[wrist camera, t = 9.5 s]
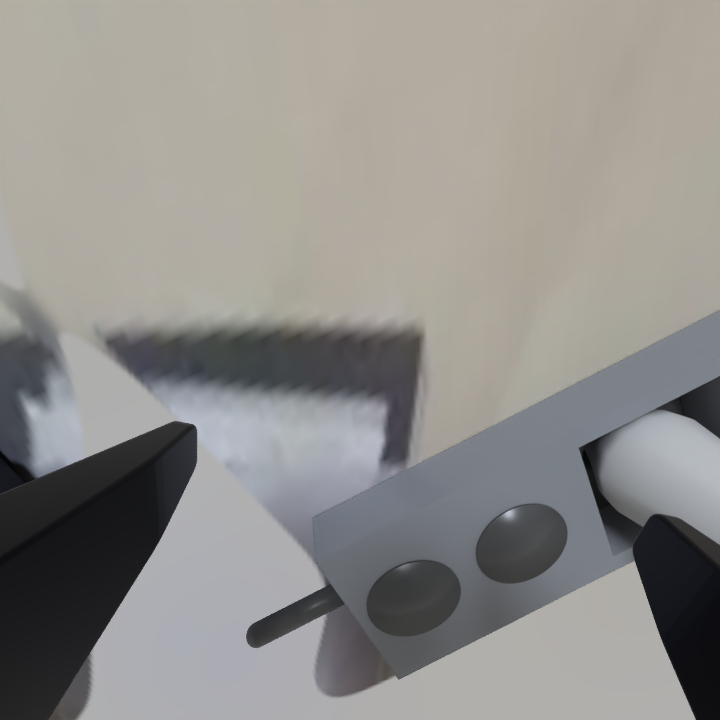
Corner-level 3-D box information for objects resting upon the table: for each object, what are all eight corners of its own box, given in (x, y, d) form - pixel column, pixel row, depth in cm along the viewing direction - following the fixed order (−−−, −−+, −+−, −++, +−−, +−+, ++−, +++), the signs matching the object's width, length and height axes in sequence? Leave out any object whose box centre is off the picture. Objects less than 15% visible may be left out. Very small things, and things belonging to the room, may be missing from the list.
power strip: (290, 676, 25) (289, 752, 21) (201, 574, 21) (183, 644, 18) (739, 448, 25) (815, 486, 21) (720, 309, 21) (806, 327, 18)
